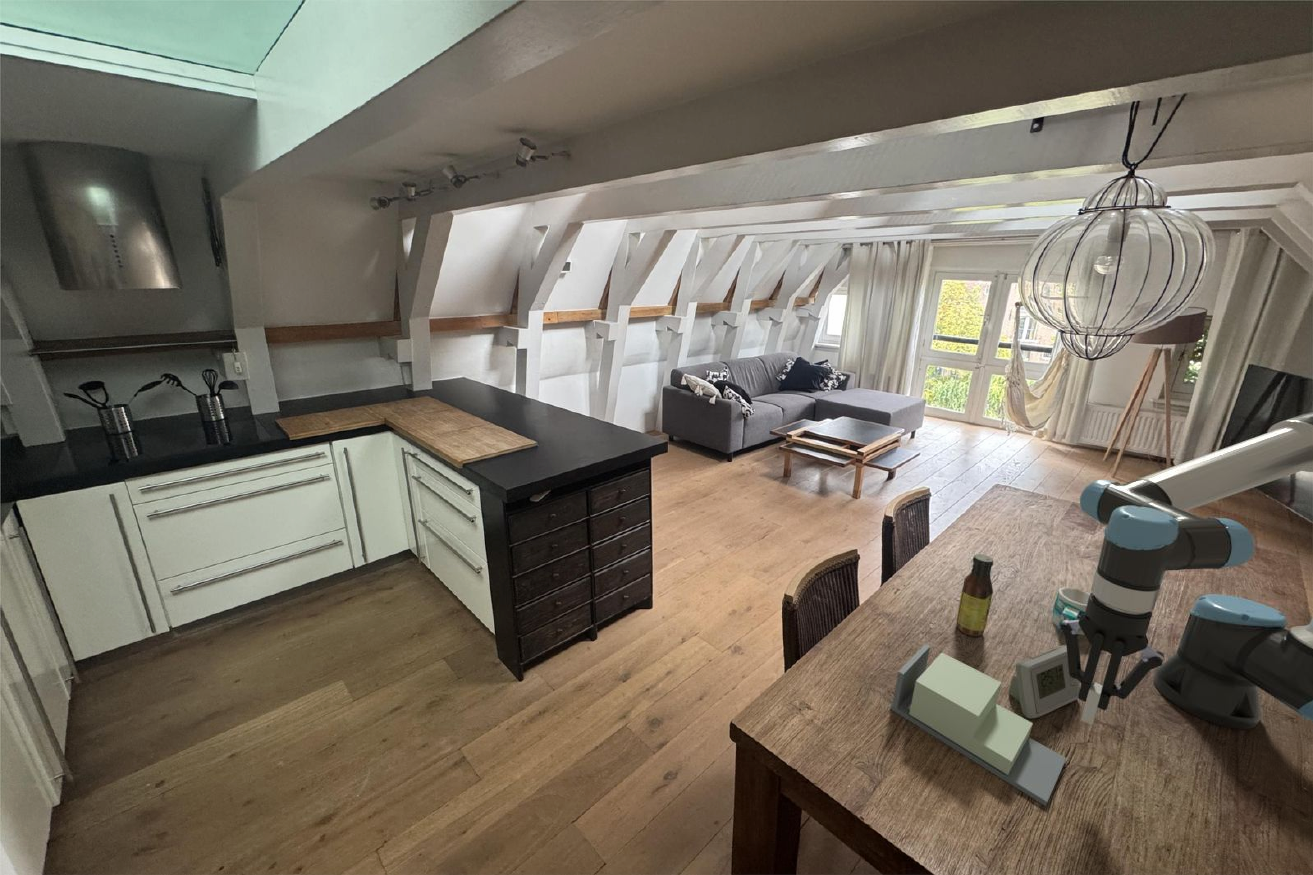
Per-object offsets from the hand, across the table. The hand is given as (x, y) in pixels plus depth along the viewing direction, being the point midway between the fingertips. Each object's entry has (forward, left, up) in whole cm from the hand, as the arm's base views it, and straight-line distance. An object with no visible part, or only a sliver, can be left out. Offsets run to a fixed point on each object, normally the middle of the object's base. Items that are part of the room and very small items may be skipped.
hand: (1088, 718), depth 88 cm
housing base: (+14, +7, -11) cm, 19 cm away
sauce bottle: (+26, -27, -11) cm, 39 cm away
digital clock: (+8, -13, -11) cm, 19 cm away
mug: (+10, -47, -11) cm, 49 cm away
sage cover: (+15, +7, -9) cm, 19 cm away
